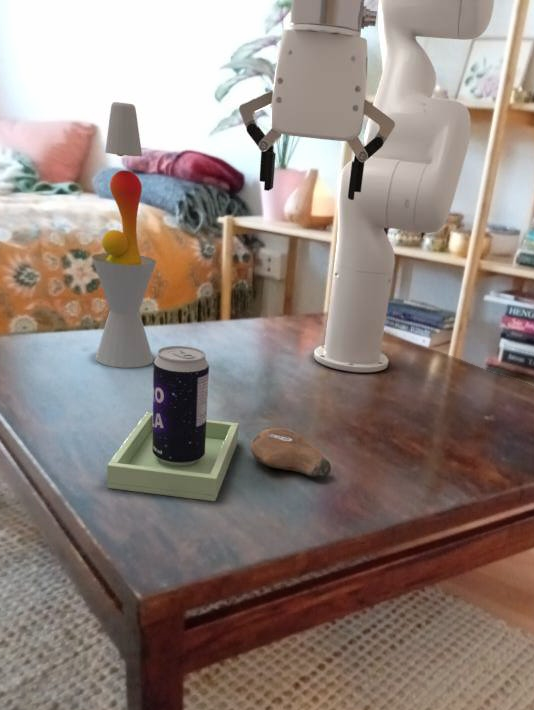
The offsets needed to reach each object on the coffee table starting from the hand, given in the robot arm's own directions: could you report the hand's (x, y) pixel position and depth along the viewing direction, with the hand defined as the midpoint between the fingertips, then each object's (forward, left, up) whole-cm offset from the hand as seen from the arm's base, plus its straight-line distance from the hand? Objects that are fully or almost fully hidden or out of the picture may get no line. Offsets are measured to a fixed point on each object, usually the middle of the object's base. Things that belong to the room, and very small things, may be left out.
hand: (309, 194), depth 82 cm
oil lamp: (+16, +1, -28) cm, 32 cm away
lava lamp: (-16, -27, -28) cm, 42 cm away
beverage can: (+18, -11, -27) cm, 34 cm away
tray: (+18, -11, -28) cm, 35 cm away
